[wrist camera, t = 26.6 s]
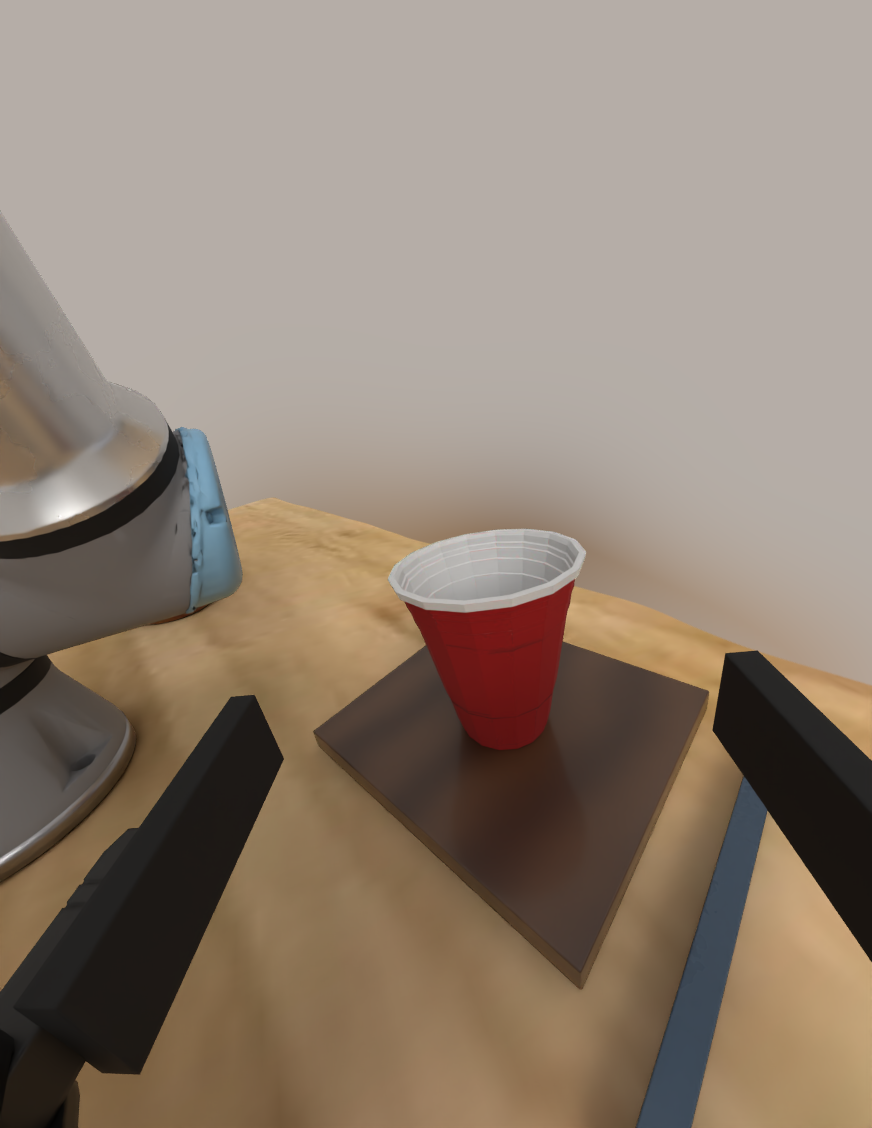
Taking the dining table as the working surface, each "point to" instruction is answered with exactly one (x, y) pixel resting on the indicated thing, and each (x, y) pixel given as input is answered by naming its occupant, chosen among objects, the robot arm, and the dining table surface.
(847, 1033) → the dining table surface
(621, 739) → the walnut board
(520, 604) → the plastic cup
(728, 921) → the square frame
